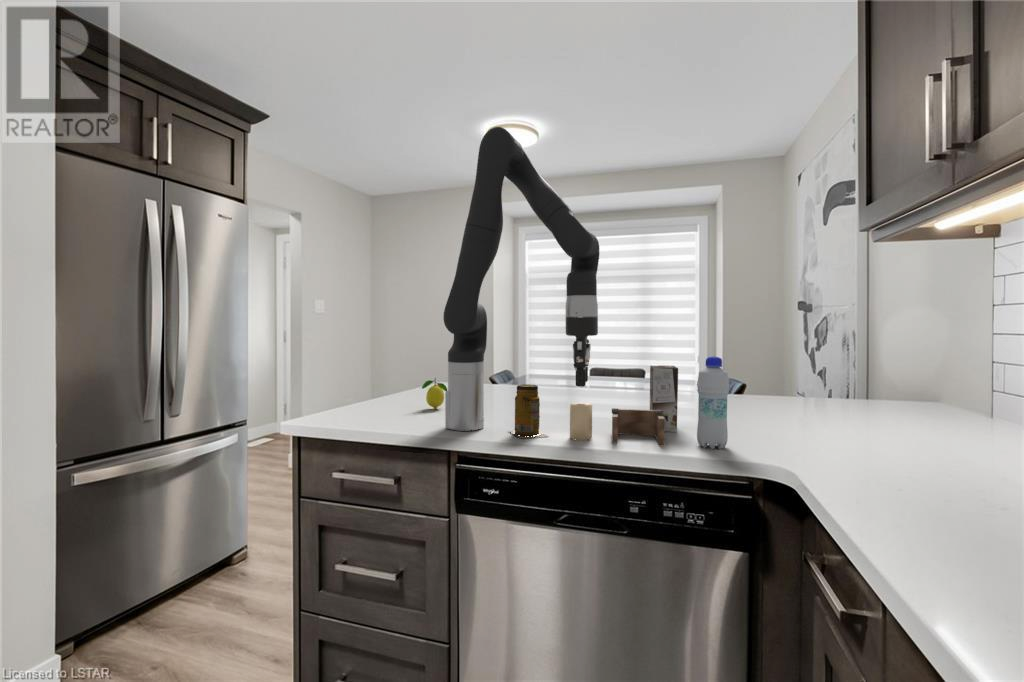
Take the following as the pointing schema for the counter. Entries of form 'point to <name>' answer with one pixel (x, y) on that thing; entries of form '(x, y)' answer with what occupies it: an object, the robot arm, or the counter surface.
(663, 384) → the coffee box
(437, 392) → the lemon
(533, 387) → the condiment
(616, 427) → the holder
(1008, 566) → the counter surface
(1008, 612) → the counter surface
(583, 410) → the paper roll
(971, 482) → the counter surface
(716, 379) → the bottle
